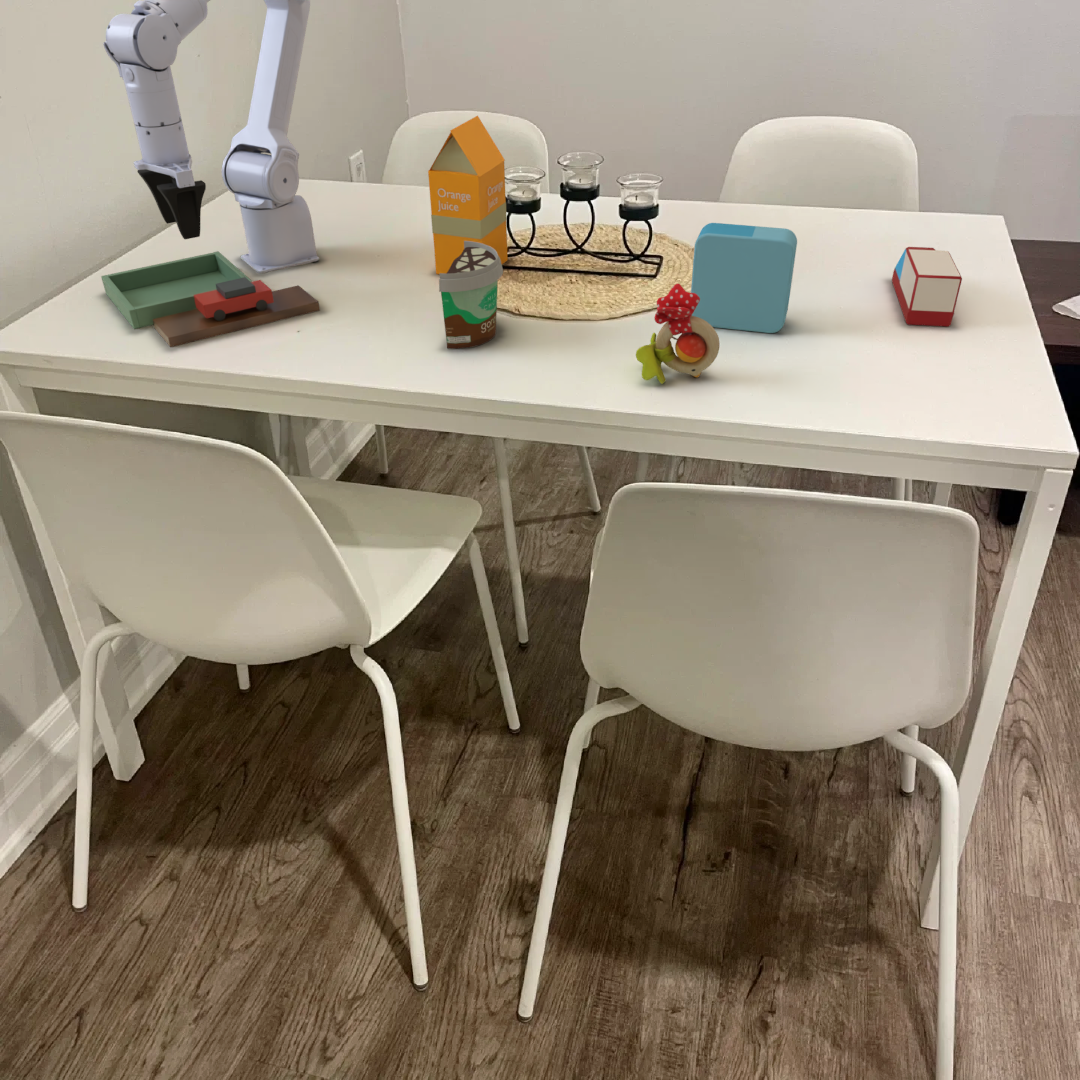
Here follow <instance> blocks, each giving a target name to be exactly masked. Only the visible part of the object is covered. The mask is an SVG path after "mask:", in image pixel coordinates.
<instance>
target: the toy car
mask: <svg viewBox="0 0 1080 1080" xmlns="http://www.w3.org/2000/svg"><path fill="white" fill-rule="evenodd" d="M252 281H253V280H252ZM216 289H217V290H213V291H209V292H204V293H200V294H196V295H194V300H195V304H196V308H197V309H198V310H199V311H200V312H201V313H202V314H203V315H204V316H205V317H206V318H211V317H214V319H215V320H217V321H222V320H224V318H225V316H226V315H225V314H228V313H232V312H236V311H240V310H244V309H249V308H253V307H256V308H257V309H258V310H259V311H264V310H265V309H266V308H267V304H270V303H274V300H273V295H272V291H273V290H272V288H271V287H270V286H268V285H267V284H266V283H264V282H263V281H262V280H261V279H257V280H254V281H253V282H250V281H249V280H248V279H247V278H246V277H244V278H239V279H235V280H230V281H226V282H221V283H217V284H216Z"/></svg>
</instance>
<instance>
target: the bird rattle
mask: <svg viewBox="0 0 1080 1080" xmlns="http://www.w3.org/2000/svg"><path fill="white" fill-rule="evenodd" d="M699 301H700V298H699V296H698V295H697V294H695V293H691V292H688V291H686V290H685V288H684V287H683V286H682V285H681V284H680V283H675V284H674V285H673V286H672V287H671V288H670V290H669V291H668V293H667V294H666V295H665V296H661V297H659V298H657V300H656V307H657V308H656V312H655V314H654V321H655V323H656V324H658V325H662V327H661V328H660V329H659V332H658V334H656V332H653V333H652V334H651V337H650V340H649V341H650V343H649V344H645V345H643V346H639V348H637V350H636V351H635V358H636V360H637V361H638V362H639V363H641V365H642V366H641V367H642V369H641V378H642V379H643V380H644V381H650V380H652V379H653V378H654V377H656V379H657V380H658V382H659V383H660V385H664V383H665V382H666V380H667V379H666V376H665V373H664V371H663V369H662V363H663V364H664V365H666V366H667V367H668V368H669V369H672V370H674V371H675V372H677V373H681V374H687V375H690V376H692V377H694V378H699V377H700V376H701V374H702V372H703V371H705V370H707V369H708V368H709V367H710V366H712V364H713V363H715V360H716V358H717V357H718V354H719V352H720V346H721V345H720V343H721V342H720V338H719V335H718V333H717V331H716V329H715V327H712V326H711V325H710V324H709V323H708V322H706V321H705V320H703V319H701V318H699V317H695V316H692V314H693V312H694V310H695V309H696V307H697V305H698V303H699ZM677 335H679V336H678V338H677V337H674V336H677ZM671 339H673V340H676V342H675V345H674V347H673V343H672V340H671Z"/></svg>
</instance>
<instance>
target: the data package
mask: <svg viewBox="0 0 1080 1080" xmlns="http://www.w3.org/2000/svg"><path fill="white" fill-rule="evenodd" d="M797 246H798V239H797V236H796V234H795V233H794V231H792V230H791V229H789V228H785V227H771V226H760V225H757V226H756V225H746V224H732V223H721V222H709V223H707V224H705V225H704V226H703V227H702V228H701V230H700V232H699V234H698V236H697V237H696V240H695V242H694V250H693V261H692V275H691V286H690V293H695V294H697V295H698V296H699V298H700V301H699V303H698V305H697V307H696V309H695V310H694V312H693V314H692V316H695V317H699V318H701V319H703V320H705V321H706V322H708V323H709V324H710V325H711V326H712V327H713V328H717V329H726V330H737V331H747V332H754V333H756V332H757V333H766V334H775V333H778V332H779V331H781V330H782V329H783V328H784V326H785V323H786V319H787V315H788V310H789V304H790V297H791V289H792V282H793V275H794V268H795V261H796V254H797V253H796V252H797Z"/></svg>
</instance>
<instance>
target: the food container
mask: <svg viewBox="0 0 1080 1080" xmlns="http://www.w3.org/2000/svg"><path fill="white" fill-rule="evenodd" d="M503 274H504V268H503V264H501V260H500V257H499V256H498V254H497V251H496V250H495V249H493V248H492V247H490V246H488V245H485V244H482V243H478V242H472V241H464V250H463V252H462V254H461V255H460V256H459V257H457V258H456V259H455V260H454V261H453V263H452V265H451V267H450V269H449V270H448V272H447V273H446V274H445V273H439V274H438V275H439V276H438V277H439V279H438V292H440V294H441V296H440V297H441V305H442V315H443V322H444V323H443V324H444V332H445V340H446V349H453V350H455V349H456V350H457V349H470V348H473V347H478V346H482V345H484V344H486V343H489V342H490V341H491V340H493V339H494V338H495V337H496V334H497V313H498V312H497V311H498V309H497V308H498V284H499V283H498V280H500V279H501V278H502V276H503Z"/></svg>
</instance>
